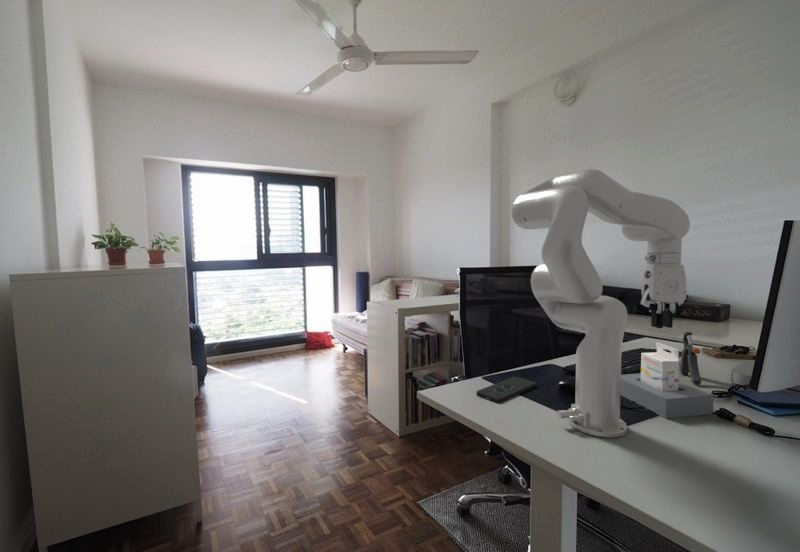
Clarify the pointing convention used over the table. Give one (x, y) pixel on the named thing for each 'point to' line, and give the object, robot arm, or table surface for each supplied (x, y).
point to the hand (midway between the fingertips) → (661, 326)
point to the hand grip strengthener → (690, 359)
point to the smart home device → (506, 389)
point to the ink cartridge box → (661, 368)
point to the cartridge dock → (667, 398)
